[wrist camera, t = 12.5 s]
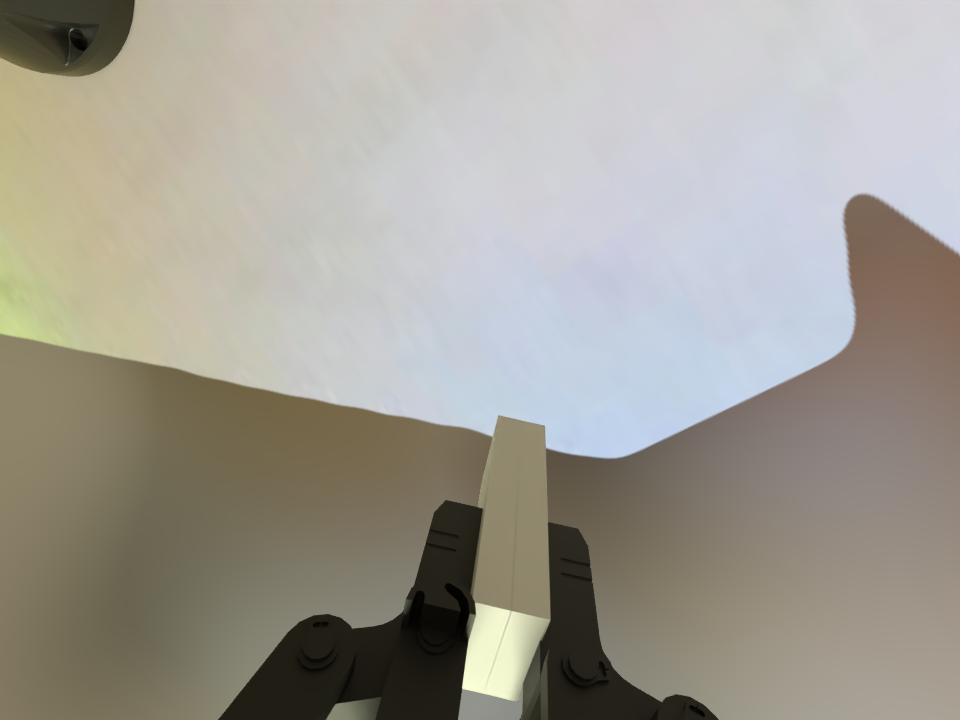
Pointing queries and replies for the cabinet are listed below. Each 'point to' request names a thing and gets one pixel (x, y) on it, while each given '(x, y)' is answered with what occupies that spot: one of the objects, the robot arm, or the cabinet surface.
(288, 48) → the cabinet surface
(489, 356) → the cabinet surface
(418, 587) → the robot arm
